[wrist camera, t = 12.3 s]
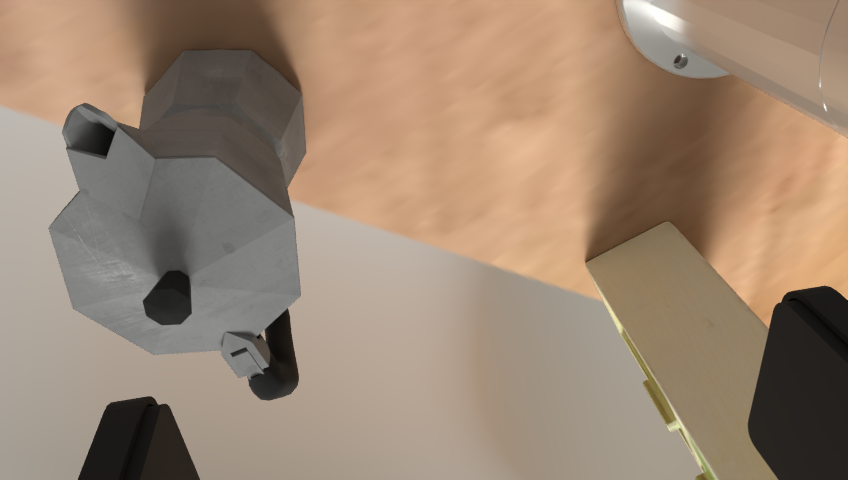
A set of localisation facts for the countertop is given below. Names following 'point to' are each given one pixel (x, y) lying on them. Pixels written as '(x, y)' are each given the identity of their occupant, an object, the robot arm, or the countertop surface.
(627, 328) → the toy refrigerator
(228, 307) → the coffeepot
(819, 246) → the countertop surface
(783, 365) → the robot arm
